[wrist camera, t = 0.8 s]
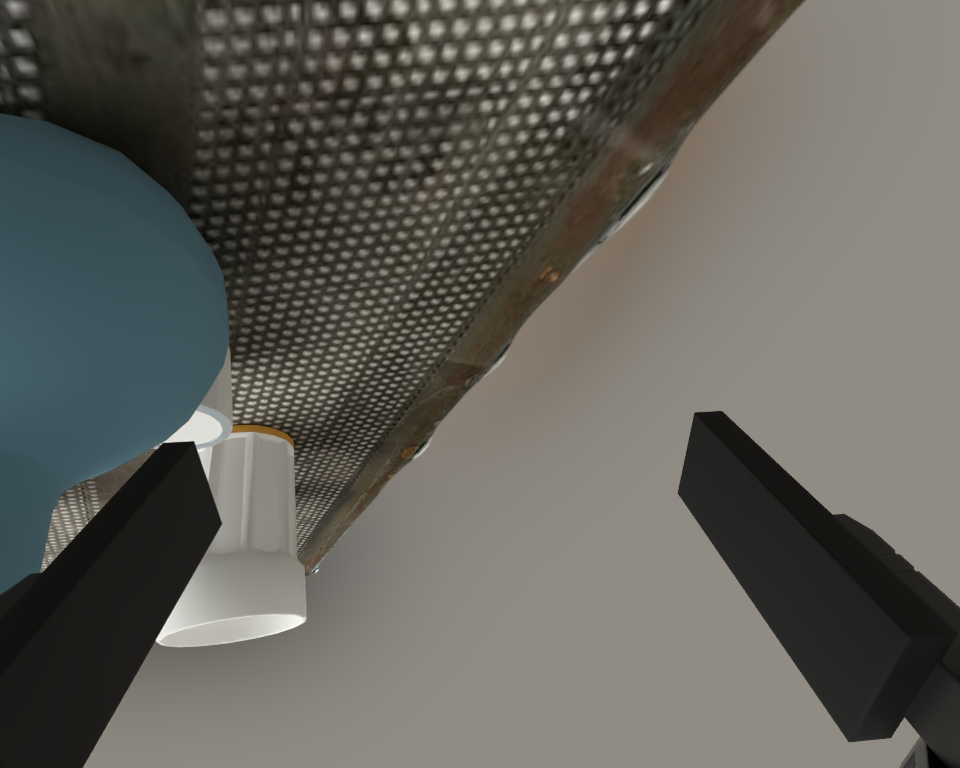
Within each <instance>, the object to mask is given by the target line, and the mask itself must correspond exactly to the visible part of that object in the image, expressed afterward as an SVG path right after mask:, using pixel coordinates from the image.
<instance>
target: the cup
mask: <svg viewBox="0 0 960 768" xmlns="http://www.w3.org/2000/svg"><path fill="white" fill-rule="evenodd" d="M197 451H198V454H199V457H200V460H201V463H202V466H203V469H204V472H205V474H206V477H207V480H208V483H209V486H210V489H211V492H212V495H213V498H214V501H215V504H216V507H217V510H218V513H219V516H220V518H221V521H222V525H221V527H220V529H219V531H218V532H217V534H216V536H215V538H214V539H213V541H212V543H211V545H210V546H209V548H208V550H207V551H206V553H205V555H204V557H203V558H202V560H201V562H200V564H199V565H198V567H197V569H196V571H195V572H194V574H193V576H192V578H191V579H190V581H189V583H188V585H187V586H186V588H185V590H184V592H183V593H182V595H181V597H180V599H179V600H178V602H177V604H176V606H175V607H174V609H173V611H172V613H171V614H170V616H169V618H168V620H167V621H166V623H165V625H164V627H163V628H162V630H161V632H160V634H159V635H158V637H157V639H156V642H158V643H159V644H161V645H162V646H173V647H190V646H191V647H192V646H206V645H215V644H225V643H232V642H237V641H243V640H249V639H254V638H259V637H262V636H267V635H271V634H276V633H279V632H282V631H285V630H288V629H291V628H294V627H296V626H298V625H300V624H302V623H304V622H305V621H306V617H307V615H306V614H307V613H306V592H305V569H304V566H303V565H302V564H301V563H300V562H299V561H298V560H297V532H296V503H295V473H294V441H293V440H292V439H291V437H290V436H289V435H288V434H286V433H284V432H282V431H280V430H277V429H274V428H271V427H266V426H260V425H233V430H232V432H231V433H230V435H229V437H228V438H227V439H225V440H223V441H222V442H220V443H218V444H217V445H213V446H210V447H206V448H202V449H197Z"/></svg>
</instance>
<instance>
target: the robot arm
mask: <svg viewBox="0 0 960 768" xmlns="http://www.w3.org/2000/svg"><path fill="white" fill-rule="evenodd" d="M678 494H679V496H680V497H681V498H682V500H683V502H684V503H685V505H686V506H687V507H688V509H689V510H690V512H691V513H692V515H693V516H694V517H695V519H696V520H697V522H698V523H699V524H700V526H701V528H702V529H703V531H704V532H705V533H706V535H707V536H708V538H709V539H710V541H711V542H712V544H713V545H714V547H715V548H716V550H717V551H718V553H719V554H720V555H721V557H722V558H723V560H724V561H725V563H726V564H727V566H728V567H729V569H730V570H731V571H732V573H733V574H734V576H735V577H736V579H737V580H738V582H739V583H740V585H741V586H742V587H743V589H744V590H745V592H746V593H747V595H748V596H749V598H750V599H751V600H752V602H753V603H754V605H755V606H756V608H757V609H758V611H759V612H760V614H761V615H762V617H763V618H764V619H765V621H766V622H767V624H768V625H769V627H770V628H771V629H772V631H773V633H774V634H775V635H776V637H777V638H778V639H779V641H780V643H781V644H782V646H783V647H784V648H785V650H786V651H787V653H788V654H789V656H790V657H791V659H792V660H793V662H794V663H795V665H796V666H797V667H798V669H799V670H800V672H801V673H802V675H803V676H804V677H805V679H806V680H807V682H808V683H809V685H810V686H811V688H812V689H813V691H814V692H815V694H816V695H817V696H818V698H819V699H820V701H821V702H822V704H823V705H824V707H825V708H826V709H827V711H828V713H829V714H830V715H831V717H832V718H833V720H834V721H835V723H836V724H837V725H838V727H839V728H840V730H841V731H842V733H843V734H844V736H845V737H846V739H847V740H848V742H856V741H866V740H876V739H886V738H891V737H892V735H893V734H894V732H895V731H896V729H897V728H898V726H899V724H900V723H901V721H902V720H903V718H904V717H905V718H906V719H907V720H908V722H909V723H910V724H911V725H912V727H913V728H914V729H915V730H916V731H917V733H918V734H919V735H920V738H919V739H918V740H917V742H916V743H915V745H914V746H913V748H912V749H911V751H910V752H909V754H908V755H907V756H906V758H905V759H904V761H903V762H902V763H901V765H900V768H960V607H959V606H957V605H956V604H955V603H954V602H953V601H952V600H951V599H949V598H948V597H947V596H946V595H945V594H944V593H943V592H942V591H940V590H939V589H938V588H937V587H936V586H935V585H934V584H932V583H931V582H930V581H929V580H928V579H927V578H926V577H925V576H923V575H922V574H921V573H920V572H918V571H917V572H916V571H915V570H914V567H913V566H912V565H911V564H910V563H909V562H908V561H907V560H905V559H904V558H903V557H902V556H901V555H900V554H896V553H895V550H894V549H893V548H892V547H891V546H890V545H888V544H887V543H886V542H885V541H884V540H883V539H882V538H881V537H880V536H878V535H877V534H876V533H875V532H874V531H873V530H871V529H869V528H868V527H866V526H864V525H862V524H861V523H859V522H857V521H855V520H854V519H852V518H850V517H848V516H847V515H845V514H837V515H832V514H831V513H830V512H829V511H828V510H827V509H826V508H825V507H824V506H823V505H822V504H820V503H819V502H818V501H817V500H816V499H815V498H814V497H813V496H812V495H811V494H810V493H809V492H808V491H807V490H805V488H803V487H802V486H801V485H800V484H799V483H798V482H797V481H796V480H795V479H794V478H793V477H792V476H790V475H789V473H787V472H786V471H785V470H784V469H783V468H782V467H781V466H780V465H779V464H778V463H776V461H775V460H773V459H772V458H771V457H770V456H769V455H768V454H767V453H766V452H765V451H764V450H763V449H762V448H761V447H760V446H759V445H758V444H756V443H755V442H754V441H753V440H752V439H751V438H750V437H749V436H748V435H747V434H746V433H745V432H744V431H743V430H741V429H740V428H739V427H738V426H737V425H736V424H735V423H734V422H733V421H732V420H731V419H730V418H729V417H728V416H727V415H726V414H724V413H723V412H722V411H714V412H698V413H697V412H696V413H694V418H693V422H692V427H691V432H690V437H689V442H688V446H687V451H686V456H685V461H684V466H683V470H682V475H681V480H680V485H679V490H678ZM221 525H222V521H221V518H220V516H219V513H218V510H217V507H216V504H215V501H214V498H213V495H212V492H211V489H210V486H209V483H208V480H207V477H206V474H205V472H204V469H203V466H202V463H201V460H200V457H199V454H198V451H197V448H196V445H195V442H194V441H187V442H169V443H162V444H161V445H160V447H159V448H158V449H157V450H156V451H155V452H154V453H153V454H152V455H151V456H150V457H149V458H148V459H147V461H146V462H145V463H144V464H143V465H142V466H141V467H140V468H139V469H138V470H137V471H136V472H135V473H134V475H133V476H132V477H131V478H130V479H129V480H128V481H127V482H126V483H125V484H124V485H123V486H122V487H121V489H120V490H119V491H118V492H117V493H116V494H115V495H114V496H113V497H112V498H111V499H110V500H109V501H108V503H107V504H106V505H105V506H104V507H103V508H102V509H101V510H100V511H99V512H98V513H97V514H96V515H95V517H94V518H93V519H92V520H91V521H90V522H89V523H88V524H87V525H86V526H85V527H84V528H83V529H82V531H81V532H80V533H79V534H78V535H77V536H76V537H75V538H74V539H73V540H72V541H71V542H70V543H69V545H68V546H67V547H66V548H65V549H64V550H63V551H62V552H61V553H60V554H59V555H58V556H57V557H56V559H55V560H54V561H53V562H52V563H51V564H50V565H49V566H48V567H47V568H46V569H45V570H44V571H43V573H33V574H29V575H28V576H27V577H25V578H24V579H22V580H21V581H19V582H18V583H17V584H15V585H14V586H12V587H11V588H9V589H8V590H7V591H5V592H4V593H2V594H1V595H0V768H83V766H84V764H85V763H86V761H87V759H88V757H89V756H90V754H91V752H92V751H93V749H94V747H95V745H96V744H97V742H98V740H99V738H100V737H101V735H102V733H103V731H104V730H105V728H106V726H107V724H108V722H109V721H110V719H111V717H112V716H113V714H114V712H115V710H116V709H117V707H118V705H119V703H120V702H121V700H122V698H123V696H124V694H125V693H126V691H127V689H128V688H129V686H130V684H131V682H132V681H133V679H134V677H135V675H136V674H137V672H138V670H139V668H140V667H141V665H142V663H143V661H144V660H145V658H146V656H147V655H148V653H149V651H150V649H151V648H152V646H153V644H154V642H155V641H156V639H157V637H158V635H159V634H160V632H161V630H162V628H163V627H164V625H165V623H166V621H167V620H168V618H169V616H170V614H171V613H172V611H173V609H174V607H175V606H176V604H177V602H178V600H179V599H180V597H181V595H182V593H183V592H184V590H185V588H186V586H187V585H188V583H189V581H190V579H191V578H192V576H193V574H194V572H195V571H196V569H197V567H198V565H199V564H200V562H201V560H202V558H203V557H204V555H205V553H206V551H207V550H208V548H209V546H210V545H211V543H212V541H213V539H214V538H215V536H216V534H217V532H218V531H219V529H220V527H221Z"/></svg>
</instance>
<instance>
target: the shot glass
mask: <svg viewBox="0 0 960 768" xmlns="http://www.w3.org/2000/svg"><path fill="white" fill-rule="evenodd" d="M232 430H233V415H232V386H231V356H230V348H229V345H228V350H227V354H226V358H225V363H224V366H223V368H222V369H221V371H220V373H219V374H218V376H217V378H216V379H215V381H214V383H213V384H212V386H211V388H210V389H209V391H208V393H207V395H206V396H205V398H204V399H203V401H202V402H201V403H200V405H199V406H198V408H197V409H196V411H195V412H194V414H193V415H192V417H191V418H190V420H189V421H188V422H187V423H186V424H185V425H183V426H182V427H181V428H180V429H179V430H178V431H177V432H175V433H174V434H173V435H172V436H171V437H170V438H169V439H167V440H166V441H165V442H163V443H169V442H187V441H194V442H195V445H196V448H197V449H202V448H206V447H210V446H213V445H217V444H218V443H220V442H222V441H223V440H225V439H227V438H228V437H229V435H230V433H231V432H232ZM161 444H162V443H161ZM161 444H159V445H157V446H155V447H154V449H158V448H159V447H160V445H161Z"/></svg>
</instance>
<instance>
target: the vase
mask: <svg viewBox="0 0 960 768" xmlns="http://www.w3.org/2000/svg"><path fill="white" fill-rule="evenodd" d="M229 341H230V339H229V312H228V305H227V298H226V291H225V284H224V277H223V273H222V271H221V268H220V266H219V264H218V262H217V260H216V258H215V256H214V254H213V252H212V250H211V249H210V247H209V246H208V244H207V243H206V241H205V240H204V238H203V237H202V235H201V234H200V233H199V231H198V230H197V228H196V227H195V225H194V224H193V222H192V221H191V219H190V218H189V216H188V215H187V213H186V212H185V210H184V209H183V207H182V206H181V205H180V204H179V203H178V202H177V201H176V200H175V199H174V198H173V196H172V195H171V194H170V193H169V192H168V191H167V190H166V189H164V188H163V187H162V186H161V185H160V184H158V183H157V182H156V181H155V180H154V179H152V178H151V177H150V176H149V175H148V174H146V173H145V172H144V171H143V170H142V169H140V168H139V167H138V166H137V165H136V164H134V163H133V162H132V161H131V160H129V159H128V158H127V157H126V156H125V155H123V154H122V153H121V152H120V151H117V150H115V149H113V148H110V147H108V146H105V145H103V144H101V143H98V142H96V141H93V140H91V139H89V138H86V137H84V136H81V135H79V134H77V133H74V132H72V131H69V130H67V129H65V128H62V127H60V126H57V125H55V124H53V123H50V122H48V121H42V120H36V119H31V118H25V117H19V116H14V115H8V114H2V113H0V595H1V594H2V593H4V592H5V591H7V590H8V589H9V588H11V587H12V586H14V585H15V584H17V583H18V582H19V581H21V580H22V579H24V578H25V577H27V576H28V575H29V574H33V573H40V569H41V565H42V561H43V556H44V551H45V546H46V541H47V536H48V531H49V526H50V521H51V515H52V512H53V510H54V508H55V506H56V505H57V503H58V501H59V499H60V497H61V495H62V493H63V492H65V491H66V490H68V489H70V488H71V487H73V486H75V485H76V484H78V483H79V482H81V481H84V480H87V479H90V478H93V477H96V476H99V475H102V474H104V473H106V472H108V471H110V470H112V469H114V468H116V467H118V466H120V465H122V464H124V463H126V462H128V461H130V460H132V459H133V458H135V457H137V456H139V455H141V454H143V453H144V452H146V451H148V450H150V449H152V448H154V447H155V446H157V445H159V444H161V443H163V442H165V441H166V440H167V439H169V438H170V437H171V436H172V435H173V434H174V433H175V432H177V431H178V430H179V429H180V428H181V427H182V426H183V425H185V424H186V423H187V422H188V421H189V420H190V418H191V417H192V415H193V414H194V412H195V411H196V409H197V408H198V406H199V405H200V403H201V402H202V401H203V399H204V398H205V396H206V395H207V393H208V391H209V389H210V388H211V386H212V384H213V383H214V381H215V379H216V378H217V376H218V374H219V373H220V371H221V369H222V368H223V366H224V363H225V358H226V354H227V350H228V345H229Z"/></svg>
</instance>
